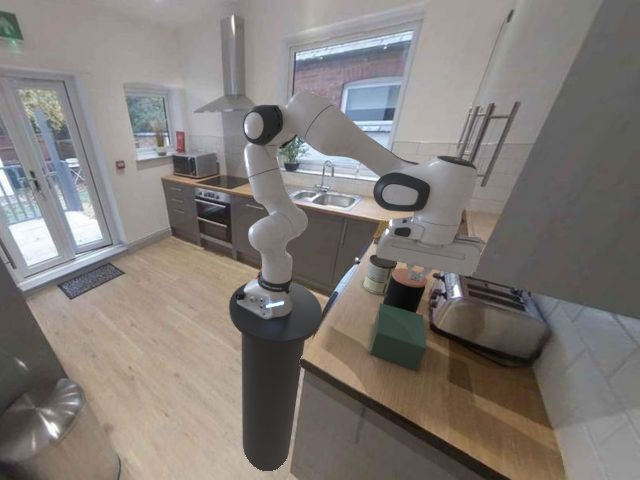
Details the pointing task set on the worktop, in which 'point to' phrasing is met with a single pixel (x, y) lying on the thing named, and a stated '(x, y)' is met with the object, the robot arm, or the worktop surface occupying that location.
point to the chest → (395, 350)
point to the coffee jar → (404, 291)
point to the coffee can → (378, 274)
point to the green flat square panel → (401, 325)
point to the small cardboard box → (382, 228)
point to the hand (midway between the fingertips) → (414, 279)
